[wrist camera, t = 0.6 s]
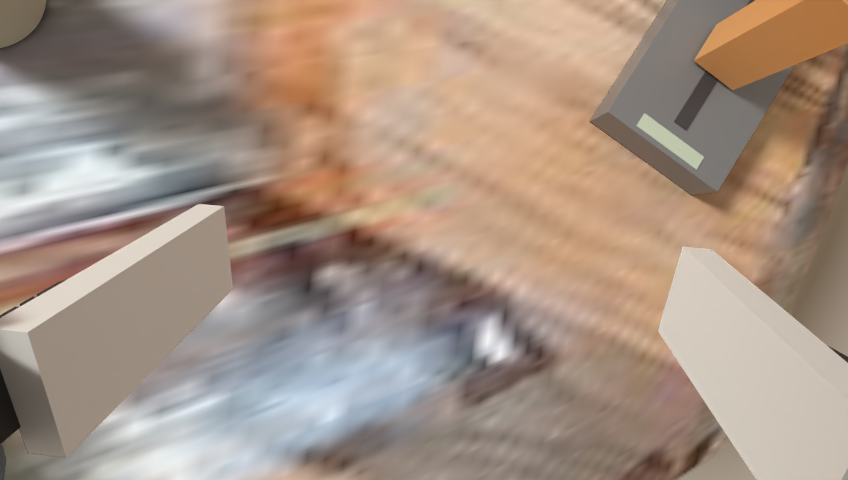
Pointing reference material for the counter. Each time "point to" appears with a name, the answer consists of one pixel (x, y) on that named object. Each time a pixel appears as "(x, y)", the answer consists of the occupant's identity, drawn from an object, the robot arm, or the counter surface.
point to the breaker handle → (772, 38)
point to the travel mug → (19, 19)
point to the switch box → (684, 100)
